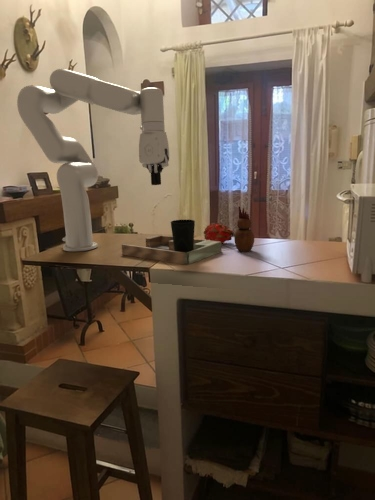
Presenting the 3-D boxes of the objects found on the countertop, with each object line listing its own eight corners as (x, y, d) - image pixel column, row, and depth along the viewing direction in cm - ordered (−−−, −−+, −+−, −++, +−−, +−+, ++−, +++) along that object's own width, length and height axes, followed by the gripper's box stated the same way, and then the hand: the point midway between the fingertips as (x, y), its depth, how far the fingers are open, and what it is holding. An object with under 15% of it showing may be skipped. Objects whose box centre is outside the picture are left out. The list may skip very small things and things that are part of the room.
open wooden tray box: (122, 254, 135) (121, 244, 134) (159, 243, 150) (158, 234, 149) (187, 264, 118) (186, 253, 117) (221, 251, 133) (221, 241, 132)
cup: (194, 261, 122) (192, 223, 120) (170, 260, 124) (168, 223, 121) (197, 255, 130) (196, 219, 127) (174, 255, 131) (173, 219, 128)
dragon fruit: (202, 246, 150) (232, 252, 146) (197, 237, 142) (229, 243, 138) (208, 226, 153) (238, 232, 149) (204, 216, 145) (235, 222, 141)
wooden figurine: (231, 249, 135) (231, 206, 132) (245, 247, 138) (245, 205, 134) (243, 253, 129) (242, 208, 126) (257, 251, 132) (257, 207, 128)
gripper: (128, 129, 130) (132, 185, 134) (163, 126, 121) (166, 185, 125) (144, 130, 136) (147, 183, 140) (178, 127, 127) (180, 184, 131)
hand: (156, 184), depth 133 cm, fingers closed
